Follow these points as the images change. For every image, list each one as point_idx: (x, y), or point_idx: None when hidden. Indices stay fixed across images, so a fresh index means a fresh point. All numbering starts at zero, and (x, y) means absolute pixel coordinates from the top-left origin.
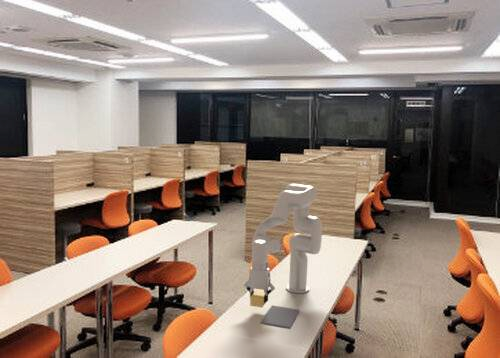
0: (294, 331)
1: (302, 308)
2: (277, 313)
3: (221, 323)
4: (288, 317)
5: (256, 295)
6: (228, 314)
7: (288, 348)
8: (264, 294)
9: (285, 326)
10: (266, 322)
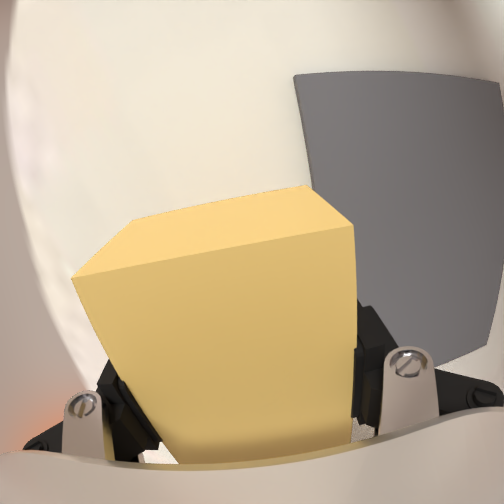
0: (494, 345)
1: (483, 31)
2: (406, 222)
3: (148, 456)
4: (479, 243)
5: (235, 447)
6: (93, 382)
7: None
8: (341, 383)
9: (467, 352)
10: None
